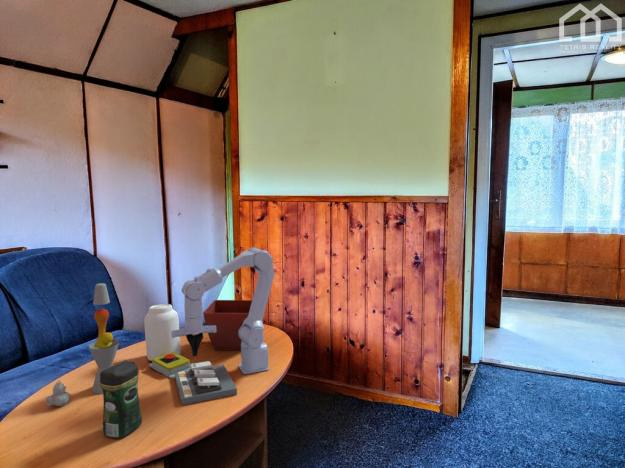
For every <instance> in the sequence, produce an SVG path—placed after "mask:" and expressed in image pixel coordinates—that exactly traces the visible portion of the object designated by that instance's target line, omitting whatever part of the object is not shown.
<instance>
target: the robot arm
mask: <svg viewBox="0 0 625 468" xmlns="http://www.w3.org/2000/svg"><path fill="white" fill-rule="evenodd" d="M273 261H274V258H273V257H272V255H271V254H270V252H269V251H266V250H263V249H259V248H257V247H250V248H248V249H247V250H244V251H243V252H241V253H240V254H238V255H237V256H235V257H234V258H233V259H231V260H230V261H227V262H226V263H225V264H224V265H222V266H220V267H219V268H215V267H213V268H209V267H208V268H207V269H206V270H205V272H204V273H202V274H200V275H198V276H194V277H193V279H190V280H186V281H185V282H184V284H183V285H182V288H181V293H182V295H184V326H185V327H182V328H179V330H174V331H171V336H172V338H175V337H180V338H181V337H186V340H187V343H189V344H188V345H189V346H190V349H191V352H192V357H198V353H199V348H200V346H201V343H202V341H203V339H204V334H208V333H211V332H213V333H216V326H215V325H214V326H206V325H204V323H203V322H204V321H203V320H204V316H203V300H202V298H203V296H205V295H204V294H205V293H206V292H208V291H209V290H212V289H213V288H214V287H216V286H218V285H219V284H221V283H222V282H223V278H224V277H226V276H228V275H230V274H232V273H234V272H236V271H237V270H239V269H241V268H243V267H248V268H249V267H250V268H254V271H255V272H256V273H257V275H258V278H257V281H256V286H255V289H254V293H253V296H252V299H251V300H252V303H251V307H250V311H249V315H248V317H247V318H246V319H245V320H244V322H243V325H242V326H241V327H240V329H239V332H238V335H239V337H240V339H241V340H242V342H241V350H240V358H241V360H240V361H241V363H240V364H238V368H239V370H240V371H241V373H242V374H243V375H248V374H254V373H259V372H264V371H269V370H270V369H269V368H270V367H269V349H268V345H267V343H266V342H264V339H265V336H264V330H265V328H264V324H263V319H264V314H265V312H266V307H267V304H268V301H269V296H270V292H271V289H272V286H273V281H274V278H275V275H276V274H275V268H274V264H273Z"/></svg>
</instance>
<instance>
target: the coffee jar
mask: <svg viewBox="0 0 625 468" xmlns="http://www.w3.org/2000/svg"><path fill="white" fill-rule="evenodd" d="M112 365H113V366H111V367H109V368H107V369H105V370H103V371H102V372H101V373H100V386H101V388H102V390H103V394H102V396H103V399H102V400H103V415H102V429H103V430H102V431H103V432H102V433H103V434H104V436H106V437H107V438H111V439H119V438H121V439H123V438H124V437H127V436H128V435H129V434H131V433H133V432H134V431H135V430H136V429H138V428H139V427H141V425H142V423H143V422H142V421H143V418H142V410H141V405H140V399H139V398H140V397H139V388H138V385H139V384H138V383H139V376H140V373H139V369H138V368H139V367H138V364H137V363H136V362H135V361H133V360H127V359H123V360H122V361H120V362H118V363H115V364H112Z"/></svg>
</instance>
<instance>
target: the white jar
mask: <svg viewBox="0 0 625 468" xmlns="http://www.w3.org/2000/svg"><path fill="white" fill-rule="evenodd" d="M143 319H144V320H143V323H144V335H145V337H144V338H145V347H146V350H145V351H146V358H147V359H148V361H150V362H152V359H153V358H156V357H159V356H161V355H164V354H167V353H171V352H175V353H177V354H179V355H181V353H182V349H181V336H180V337H175V338H172V336H171V331H174V330H179V329H180V322H179V315H178V312H177V311H176V310H174V309H173V306H172V304H170V303H161V304H154V305H152V306H150V307H149V308H148V312H147V314H146V315H145V316H144V318H143Z"/></svg>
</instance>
